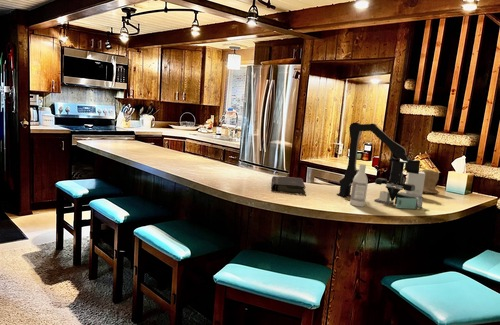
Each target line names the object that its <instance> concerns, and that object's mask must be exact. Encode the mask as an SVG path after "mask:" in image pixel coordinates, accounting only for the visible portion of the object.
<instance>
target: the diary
mask: <svg viewBox="0 0 500 325" xmlns="http://www.w3.org/2000/svg"><path fill="white" fill-rule="evenodd" d="M270 184H271V186H270V188H271V190H270V191H272V192H273V191H274V190H275V192H282V193H288V194H297V195H305V189H306V184H305V183H304V180H303V178H301V177H291V176H276V175H274V176H272V177H271V183H270Z"/></svg>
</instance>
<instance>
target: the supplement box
mask: <svg viewBox="0 0 500 325" xmlns="http://www.w3.org/2000/svg"><path fill="white" fill-rule="evenodd" d="M424 180H425V173H424V172H422V171H420V170H419V174H414V173H407V177H406V182H405V184H412V185H415V190H414V191H407V190H404V193H408V194H412V195H417V196H421V197H423V194H424V193H423V186H424Z"/></svg>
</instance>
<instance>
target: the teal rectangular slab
mask: <svg viewBox="0 0 500 325" xmlns="http://www.w3.org/2000/svg"><path fill="white" fill-rule="evenodd" d="M416 202H417V199H415V198H398V197H397V204H395V205H396V206H395V208H396V209H413V210H414V209H415V208H416ZM415 210H416V209H415Z"/></svg>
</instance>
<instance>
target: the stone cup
mask: <svg viewBox="0 0 500 325" xmlns="http://www.w3.org/2000/svg"><path fill="white" fill-rule="evenodd" d="M421 172H424V173H425V180H424V186H423V193H422V194H440V191H438V190H437V189H436V185H437V184H438V181H439V177H440V173H439V171H434V170H432V169H425V168H424V169H422V171H421Z"/></svg>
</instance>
